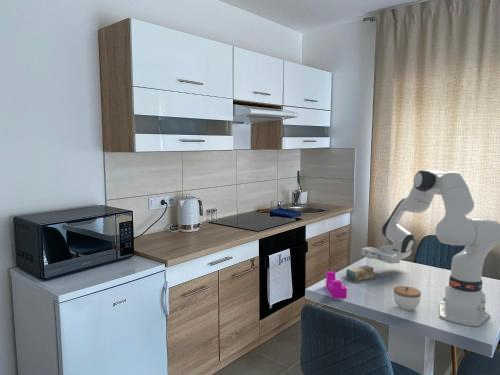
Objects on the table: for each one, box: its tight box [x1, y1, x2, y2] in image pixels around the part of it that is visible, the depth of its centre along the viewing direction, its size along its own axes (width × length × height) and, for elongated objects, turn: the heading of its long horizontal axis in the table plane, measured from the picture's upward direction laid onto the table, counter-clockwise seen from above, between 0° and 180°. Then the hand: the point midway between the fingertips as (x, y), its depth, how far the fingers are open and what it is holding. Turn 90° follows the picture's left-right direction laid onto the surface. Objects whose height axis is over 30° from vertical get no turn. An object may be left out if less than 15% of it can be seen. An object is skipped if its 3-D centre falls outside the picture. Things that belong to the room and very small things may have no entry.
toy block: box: [325, 270, 348, 299], centre depth 179 cm, size 15×6×8 cm, turn 0°
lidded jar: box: [393, 285, 422, 312], centre depth 161 cm, size 11×11×9 cm
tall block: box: [345, 264, 374, 281], centre depth 197 cm, size 5×5×14 cm
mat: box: [340, 271, 387, 285], centre depth 198 cm, size 22×11×1 cm, turn 120°
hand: (368, 256), depth 199 cm, fingers closed
